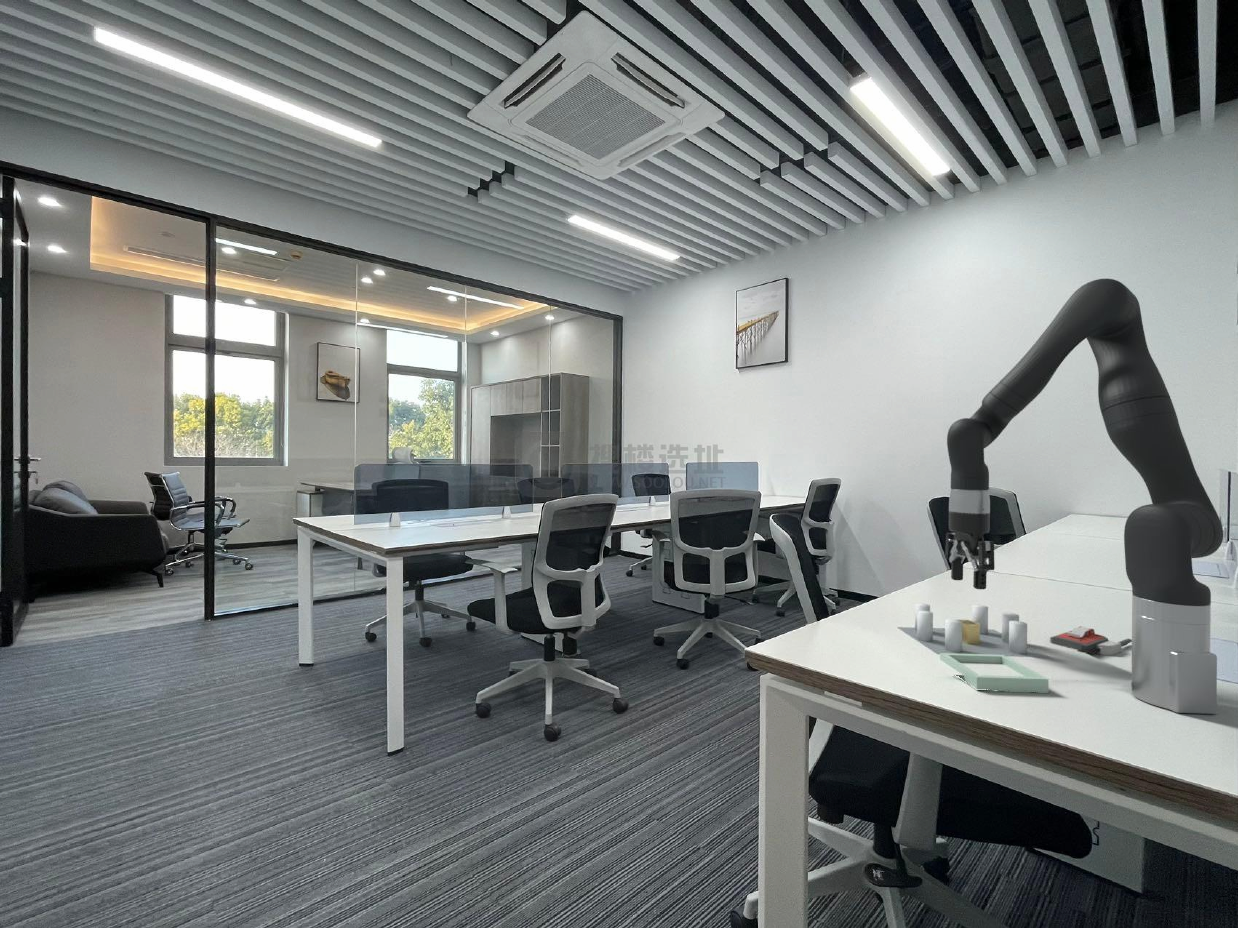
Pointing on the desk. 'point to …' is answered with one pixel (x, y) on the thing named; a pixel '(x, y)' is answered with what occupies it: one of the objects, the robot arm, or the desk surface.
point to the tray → (1000, 683)
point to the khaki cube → (970, 632)
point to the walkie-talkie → (1088, 642)
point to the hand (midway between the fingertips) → (967, 584)
